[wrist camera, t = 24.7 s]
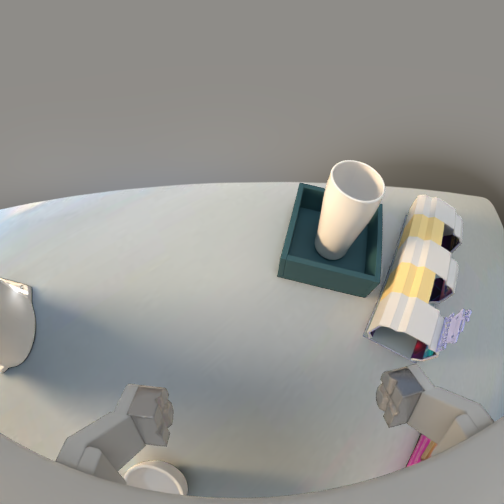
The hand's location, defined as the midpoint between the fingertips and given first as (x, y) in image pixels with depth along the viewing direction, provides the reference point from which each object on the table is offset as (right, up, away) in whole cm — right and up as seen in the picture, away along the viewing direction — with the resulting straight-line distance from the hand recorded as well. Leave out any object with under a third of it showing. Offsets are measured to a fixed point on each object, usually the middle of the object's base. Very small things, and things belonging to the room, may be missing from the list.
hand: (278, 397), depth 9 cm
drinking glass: (+11, +6, +33) cm, 35 cm away
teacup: (-14, -26, +17) cm, 33 cm away
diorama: (+26, 0, +30) cm, 40 cm away
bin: (+11, +6, +33) cm, 36 cm away
